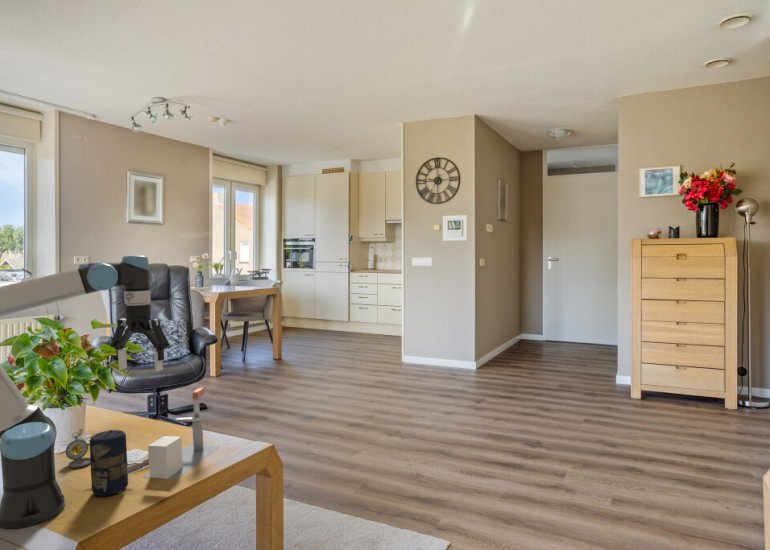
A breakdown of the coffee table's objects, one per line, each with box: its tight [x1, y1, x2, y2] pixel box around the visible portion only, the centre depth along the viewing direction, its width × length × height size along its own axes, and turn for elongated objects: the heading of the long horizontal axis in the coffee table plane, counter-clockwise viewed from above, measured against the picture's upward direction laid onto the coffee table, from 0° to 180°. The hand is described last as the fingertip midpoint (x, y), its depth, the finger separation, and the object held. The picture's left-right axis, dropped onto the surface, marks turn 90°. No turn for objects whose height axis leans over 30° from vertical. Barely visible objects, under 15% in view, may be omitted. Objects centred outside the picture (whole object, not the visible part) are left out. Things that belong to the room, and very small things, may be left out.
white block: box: [147, 435, 183, 480], centre depth 158 cm, size 8×6×10 cm
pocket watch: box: [65, 431, 90, 469], centre depth 170 cm, size 8×8×10 cm
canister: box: [89, 429, 129, 497], centre depth 149 cm, size 10×10×18 cm
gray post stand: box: [141, 419, 221, 480], centre depth 167 cm, size 26×12×11 cm, turn 169°
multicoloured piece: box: [174, 387, 205, 423], centre depth 177 cm, size 9×7×10 cm
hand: (140, 370), depth 162 cm, fingers open, 13 cm apart
